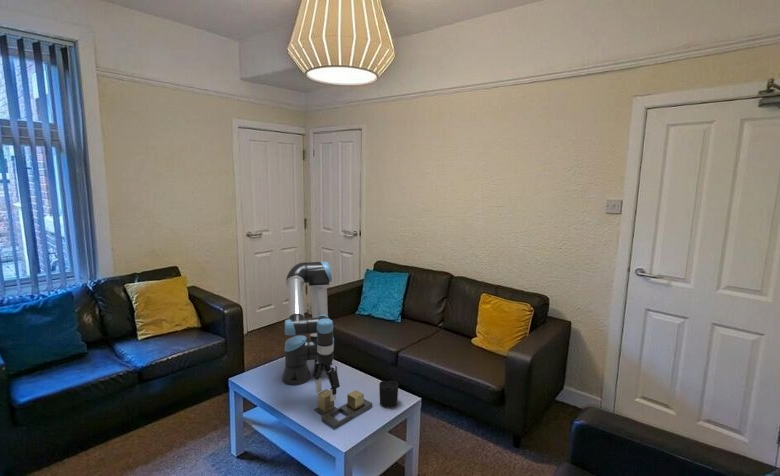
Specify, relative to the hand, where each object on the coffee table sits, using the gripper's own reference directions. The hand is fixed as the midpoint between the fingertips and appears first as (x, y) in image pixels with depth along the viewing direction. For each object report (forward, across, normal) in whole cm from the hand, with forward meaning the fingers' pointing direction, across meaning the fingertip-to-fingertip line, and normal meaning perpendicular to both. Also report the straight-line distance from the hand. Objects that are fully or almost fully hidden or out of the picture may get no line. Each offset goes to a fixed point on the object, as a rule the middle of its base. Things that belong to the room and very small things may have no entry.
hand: (325, 395), depth 188 cm
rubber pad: (+7, 0, 0) cm, 7 cm away
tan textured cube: (+7, 0, 0) cm, 7 cm away
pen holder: (+8, +18, +25) cm, 32 cm away
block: (+7, +10, +10) cm, 16 cm away
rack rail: (+7, +10, +5) cm, 13 cm away
